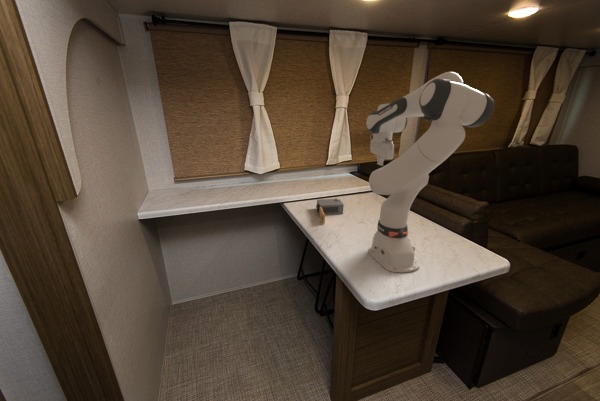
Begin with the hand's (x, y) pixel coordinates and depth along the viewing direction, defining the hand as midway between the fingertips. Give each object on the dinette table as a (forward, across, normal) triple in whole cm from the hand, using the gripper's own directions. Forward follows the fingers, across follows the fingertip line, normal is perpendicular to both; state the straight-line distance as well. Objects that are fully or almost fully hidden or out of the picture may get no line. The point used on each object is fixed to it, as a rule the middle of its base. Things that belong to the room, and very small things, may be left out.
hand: (379, 164), depth 134 cm
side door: (+31, +4, +30) cm, 43 cm away
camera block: (+32, +15, +22) cm, 41 cm away
